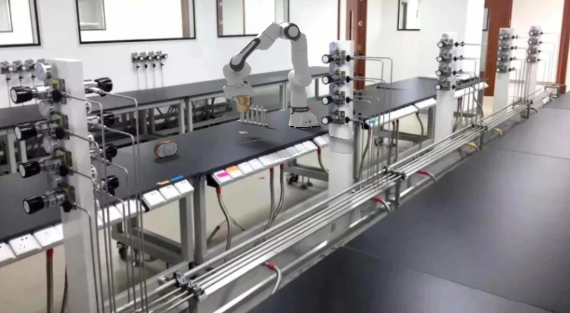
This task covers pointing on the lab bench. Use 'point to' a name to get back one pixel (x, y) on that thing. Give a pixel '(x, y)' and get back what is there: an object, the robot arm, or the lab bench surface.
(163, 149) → the tin
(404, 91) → the lab bench surface
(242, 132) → the plate
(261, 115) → the test tube rack
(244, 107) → the oak block
